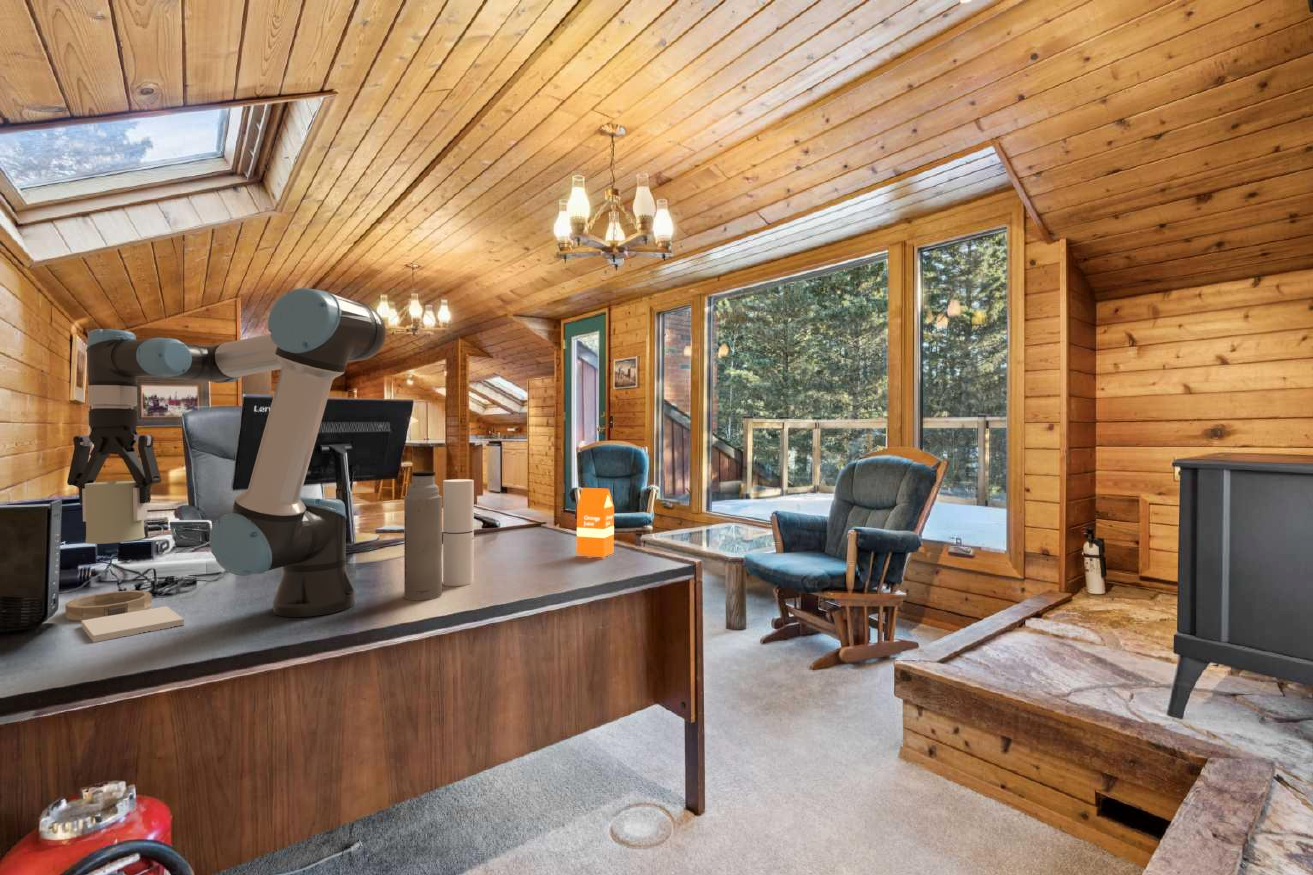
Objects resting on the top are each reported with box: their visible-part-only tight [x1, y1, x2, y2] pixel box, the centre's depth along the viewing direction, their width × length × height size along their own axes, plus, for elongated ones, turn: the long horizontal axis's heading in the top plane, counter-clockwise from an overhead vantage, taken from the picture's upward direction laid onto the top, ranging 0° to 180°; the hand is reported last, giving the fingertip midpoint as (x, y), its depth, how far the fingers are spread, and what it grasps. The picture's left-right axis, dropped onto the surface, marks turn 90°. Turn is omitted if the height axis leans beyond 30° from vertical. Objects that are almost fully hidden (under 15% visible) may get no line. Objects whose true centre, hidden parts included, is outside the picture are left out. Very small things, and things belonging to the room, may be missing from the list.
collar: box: [64, 589, 152, 622], centre depth 131 cm, size 16×13×2 cm
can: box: [85, 480, 146, 545], centre depth 128 cm, size 9×9×12 cm
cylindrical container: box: [442, 478, 475, 587], centre depth 156 cm, size 7×7×25 cm
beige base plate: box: [80, 606, 185, 643], centre depth 121 cm, size 13×13×1 cm
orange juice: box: [576, 487, 615, 557], centre depth 191 cm, size 8×9×20 cm
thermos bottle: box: [403, 470, 443, 601], centre depth 144 cm, size 8×8×28 cm
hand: (115, 520), depth 128 cm, fingers closed on can, 9 cm apart
